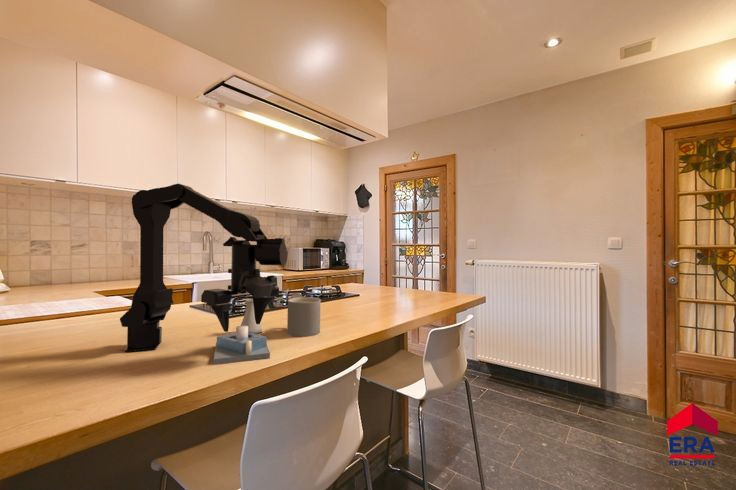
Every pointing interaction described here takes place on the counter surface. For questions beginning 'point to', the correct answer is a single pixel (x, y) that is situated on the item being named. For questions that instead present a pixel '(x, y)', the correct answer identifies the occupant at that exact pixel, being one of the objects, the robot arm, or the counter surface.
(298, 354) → the counter surface
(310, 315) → the coffee mug
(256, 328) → the flask
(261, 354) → the post board
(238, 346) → the flange plate
